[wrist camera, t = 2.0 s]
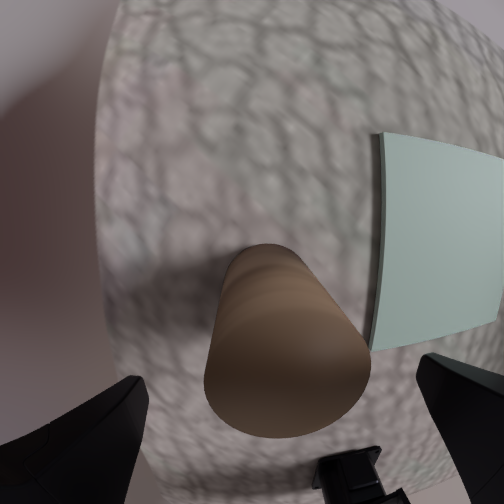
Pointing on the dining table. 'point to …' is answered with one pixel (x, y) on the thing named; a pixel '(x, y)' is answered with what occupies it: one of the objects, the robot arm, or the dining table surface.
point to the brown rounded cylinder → (281, 349)
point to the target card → (437, 241)
